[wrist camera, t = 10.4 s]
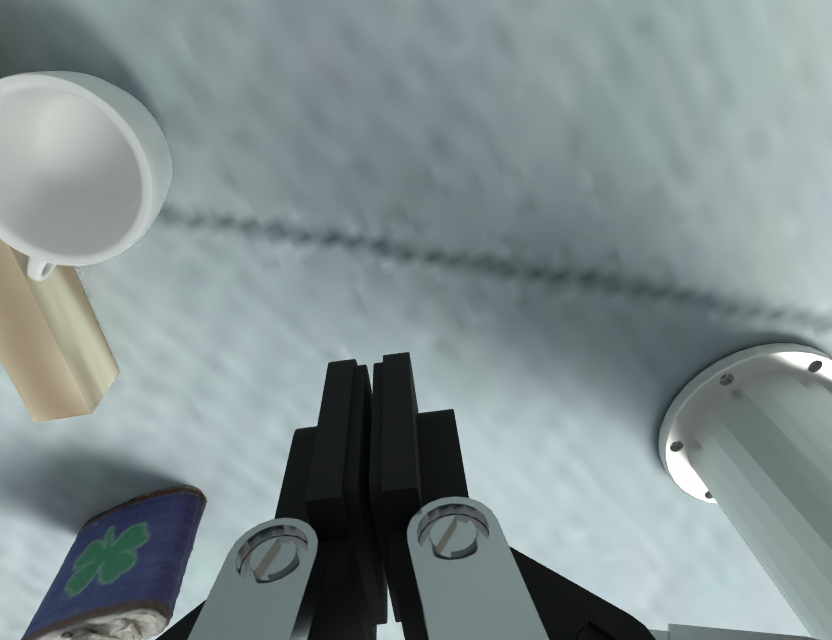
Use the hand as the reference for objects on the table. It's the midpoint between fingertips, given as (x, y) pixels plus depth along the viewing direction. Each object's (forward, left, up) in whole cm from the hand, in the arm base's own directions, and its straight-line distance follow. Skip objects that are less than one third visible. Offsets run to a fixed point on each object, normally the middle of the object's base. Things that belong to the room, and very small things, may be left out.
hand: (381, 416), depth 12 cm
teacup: (+13, -2, -20) cm, 24 cm away
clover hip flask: (+19, +20, -20) cm, 34 cm away
